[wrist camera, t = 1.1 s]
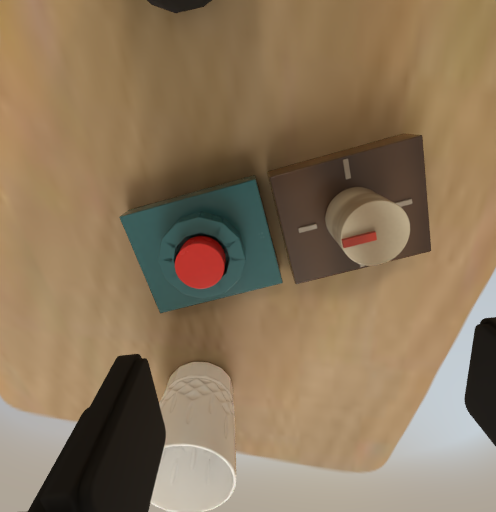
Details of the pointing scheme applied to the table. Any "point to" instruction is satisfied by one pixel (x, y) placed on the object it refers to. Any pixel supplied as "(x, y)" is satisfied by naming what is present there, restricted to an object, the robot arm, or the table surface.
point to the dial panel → (337, 180)
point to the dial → (367, 226)
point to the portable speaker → (179, 4)
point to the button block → (210, 225)
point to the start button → (200, 262)
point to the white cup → (197, 440)
